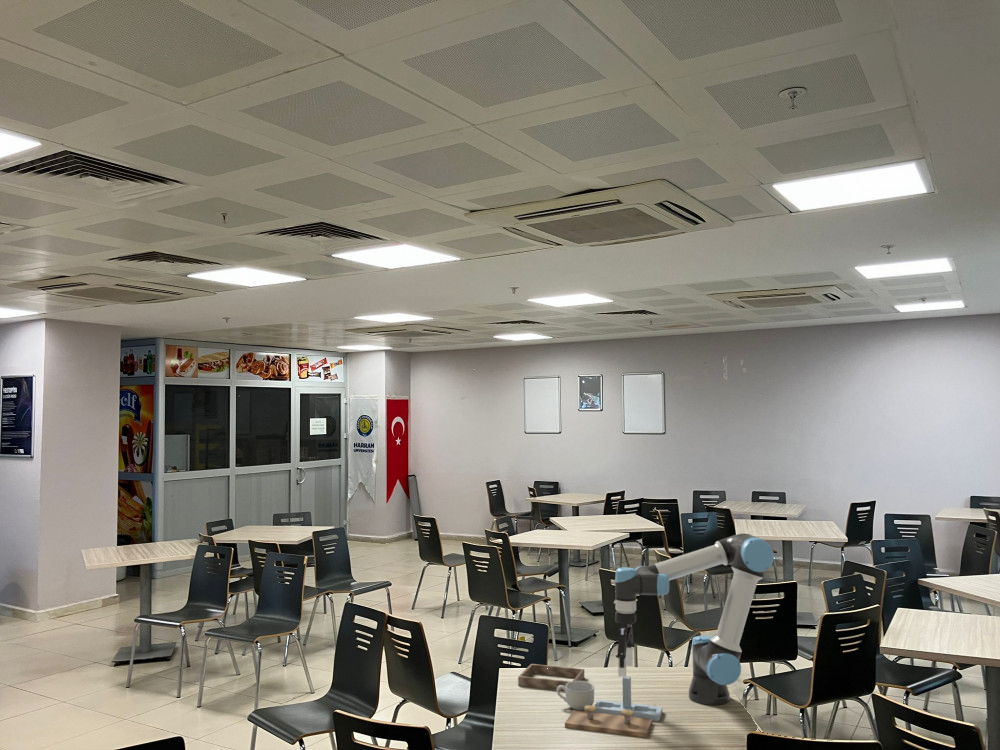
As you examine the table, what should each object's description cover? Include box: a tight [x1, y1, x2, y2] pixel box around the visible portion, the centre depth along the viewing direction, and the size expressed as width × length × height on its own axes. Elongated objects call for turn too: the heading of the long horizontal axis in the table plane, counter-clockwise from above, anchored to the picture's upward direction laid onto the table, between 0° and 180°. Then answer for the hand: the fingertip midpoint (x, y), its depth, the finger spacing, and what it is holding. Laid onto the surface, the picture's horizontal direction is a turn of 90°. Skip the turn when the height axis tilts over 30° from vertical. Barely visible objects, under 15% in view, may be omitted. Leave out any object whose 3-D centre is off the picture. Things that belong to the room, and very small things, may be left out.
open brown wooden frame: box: [517, 663, 585, 692], centre depth 314 cm, size 23×18×4 cm
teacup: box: [556, 680, 595, 711], centre depth 286 cm, size 14×11×8 cm
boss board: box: [564, 704, 653, 738], centre depth 268 cm, size 28×13×5 cm, turn 71°
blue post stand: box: [594, 675, 663, 722], centre depth 280 cm, size 24×9×12 cm, turn 71°
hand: (625, 671), depth 280 cm, fingers open, 13 cm apart
